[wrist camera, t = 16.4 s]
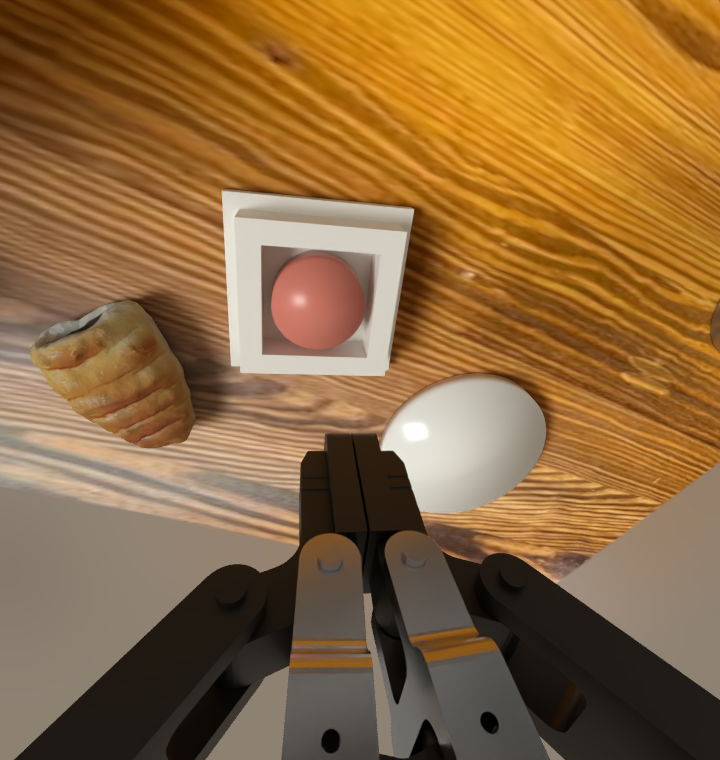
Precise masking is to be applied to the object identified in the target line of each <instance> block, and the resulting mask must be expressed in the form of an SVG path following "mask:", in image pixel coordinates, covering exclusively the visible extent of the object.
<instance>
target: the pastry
mask: <svg viewBox="0 0 720 760" xmlns="http://www.w3.org/2000/svg"><path fill="white" fill-rule="evenodd" d="M30 354H31V359H32V363H33V364H34V365H36V366H38V367H39V368H40V369H41V371H42V372H43V374H44V376H45V378H46V380H47V381H48V383H49V385H50V386H51V387H52V388H53V390H54V391H55V392H56V393H58V394H59V395H61V396H62V397H63V398H64V399H65V400H67V401H68V402H69V403H70V405H71V407H72V409H73V410H74V411H75V412H76V413H78V414H79V415H82V416H84V417H85V418H87V419H88V420H90V421H91V422H93V423H97V424H99V425H100V426H101V427H103V428H104V429H106V430H107V431H110V432H112V433H113V434H115V435H116V436H118V437H121V438H123V439H124V440H126V441H127V442H130V443H134V444H137V445H139V446H140V447H142V448H158V447H162V446H166V445H170V444H173V443H182V442H184V441H185V440H187V438H188V436H189V434H190V432H191V429H192V427H193V425H194V422H195V419H196V417H195V413H194V411H193V406H192V402H191V400H190V390H189V388H188V386H187V384H186V381H185V378H184V370H183V367H182V366H181V364H180V362H179V361H178V359H177V358H176V357H175V356H174V354H173V352H172V350H171V349H170V347H169V346H168V343H167V341H166V340H165V339H164V337H163V335H162V334H161V333H160V331H159V329H158V327H157V325H156V324H155V322H154V320H153V319H152V318H151V316H150V315H149V314H148V313H147V312H145V310H144V309H143V308H142V307H141V306H140V305H139V304H138V303H137V302H134V301H130V300H125V301H122V302H116V303H110V304H107V305H104V306H101V307H99V308H97V309H96V310H95V311H93V312H91V313H89V314H87V315H85V316H84V317H82V318H81V319H79V320H73V321H72V320H68V321H63V322H59V323H57V324H56V325H54V326H51V327H48V328H47V329H46V330H44V331H43V332H42V333H41V334H40V335H39V337H38V338H37V340H36V341H35V343H34V344H33V346H32V348H31V350H30Z"/></svg>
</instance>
